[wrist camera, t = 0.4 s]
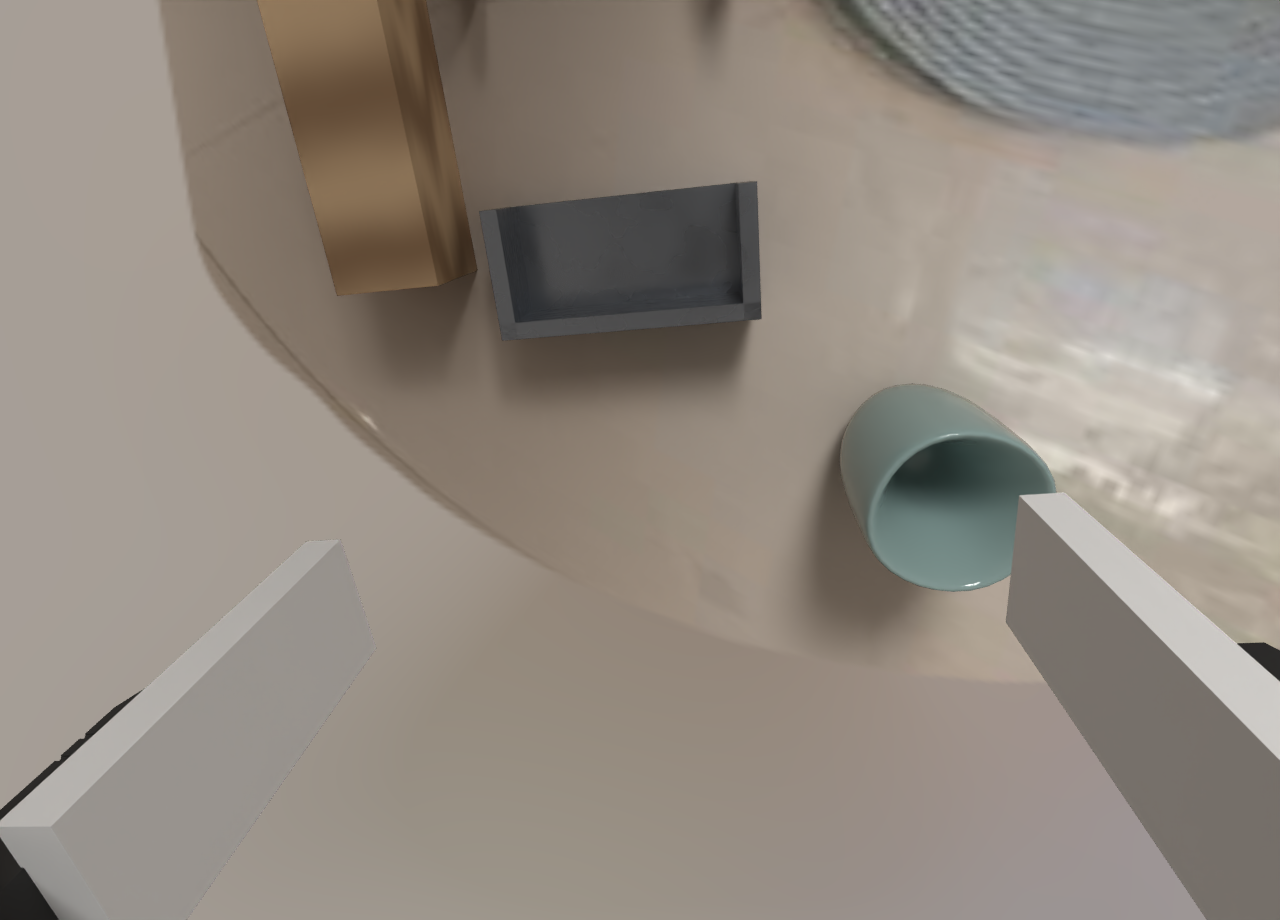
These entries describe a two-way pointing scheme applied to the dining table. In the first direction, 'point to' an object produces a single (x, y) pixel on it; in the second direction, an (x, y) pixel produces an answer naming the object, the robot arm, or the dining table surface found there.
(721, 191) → the bracket
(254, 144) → the dining table surface
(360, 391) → the dining table surface
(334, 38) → the wooden block
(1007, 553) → the cup
